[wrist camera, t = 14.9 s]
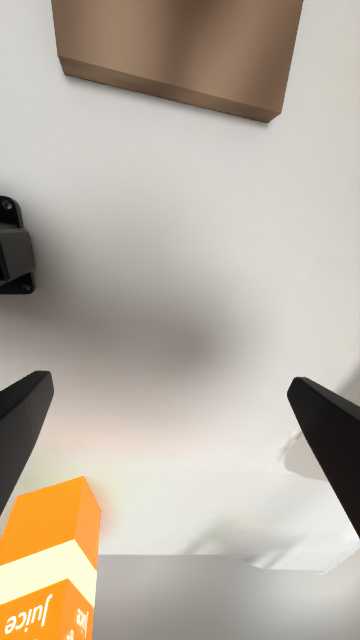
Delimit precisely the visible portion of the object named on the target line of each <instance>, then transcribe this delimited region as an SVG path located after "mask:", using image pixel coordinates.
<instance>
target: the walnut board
mask: <svg viewBox="0 0 360 640" xmlns="http://www.w3.org/2000/svg"><path fill="white" fill-rule="evenodd" d="M51 2H52V11H53V19H54V28H55V37H56V45H57V54H58V57H59V60H60V63H61V66H62V68H63V71H64V74H66V75H70V76H75V77H79V78H83V79H87V80H91V81H95V82H100V83H104V84H108V85H112V86H116V87H120V88H125V89H129V90H133V91H137V92H141V93H145V94H150V95H154V96H158V97H162V98H166V99H170V100H175V101H179V102H183V103H187V104H191V105H195V106H200V107H204V108H208V109H212V110H216V111H220V112H225V113H229V114H233V115H237V116H241V117H245V118H250V119H254V120H258V121H262V122H266V123H268V122H270V121H271V120H272V119H274V118H275V117H276V116H278V115H279V114H281V111H282V106H283V101H284V96H285V91H286V86H287V81H288V76H289V71H290V65H291V60H292V55H293V50H294V45H295V40H296V35H297V30H298V25H299V20H300V15H301V10H302V4H303V0H51Z"/></svg>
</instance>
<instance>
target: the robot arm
mask: <svg viewBox="0 0 360 640" xmlns="http://www.w3.org/2000/svg"><path fill="white" fill-rule="evenodd" d="M7 201H9V202H10V203H11V205H12V207H11V209H8V208H6V206H5V203H6V202H7ZM34 269H35V263H34V258H33V253H32V248H31V243H30V238H29V234H28V232H27V231H26V230H25V229H23V225H22V220H21V215H20V211H19V206H18V204H17V202H16V201H15V200H14V199H12V198H10V197H6V196H0V294H31V293H32V292H34V291H35V289H36V286H35V282H34V277H33V272H32V271H33V270H34ZM24 285H28V286H29V287H30V290H27V289H26V288H25V287H24ZM53 395H54V387H53V381H52V375H51V373H50V372H49V371H34V372H32V373H31V374H29V375H27V376H26V377H24V378H22V379H21V380H19V381H17V382H15V383H14V384H12V385H10V386H9V387H7V388H5V389H4V390H2V391H0V516H1V514H2V512H3V510H4V508H5V506H6V504H7V502H8V500H9V498H10V496H11V494H12V491H13V489H14V487H15V485H16V483H17V481H18V479H19V477H20V475H21V473H22V471H23V469H24V467H25V465H26V463H27V461H28V459H29V457H30V455H31V453H32V450H33V448H34V446H35V444H36V441H37V439H38V436H39V434H40V431H41V428H42V425H43V423H44V420H45V417H46V414H47V412H48V409H49V406H50V404H51V401H52V398H53ZM287 398H288V400H289V402H290V405H291V407H292V409H293V412H294V414H295V416H296V418H297V421H298V423H299V425H300V428H301V430H302V432H303V434H304V436H305V438H306V440H307V442H308V444H309V446H310V448H311V449H312V451H313V453H314V455H315V457H316V459H317V461H318V462H319V464H320V466H321V468H322V470H323V472H324V473H325V475H326V477H327V479H328V481H329V483H330V485H331V486H332V488H333V490H334V492H335V494H336V496H337V497H338V499H339V501H340V503H341V505H342V507H343V509H344V510H345V512H346V514H347V516H348V518H349V520H350V521H351V523H352V525H353V527H354V529H355V531H356V533H357V534H358V536H359V538H360V407H359V406H357V405H356V404H354V403H352V402H350V401H348V400H347V399H345V398H343V397H341V396H339V395H337V394H336V393H334V392H332V391H330V390H328V389H327V388H325V387H323V386H321V385H319V384H317V383H316V382H314V381H312V380H310V379H308V378H306V377H295V378H294V379H293V381H292V383H291V385H290V387H289V389H288V391H287Z"/></svg>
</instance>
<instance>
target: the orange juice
mask: <svg viewBox="0 0 360 640" xmlns="http://www.w3.org/2000/svg"><path fill="white" fill-rule="evenodd" d="M100 515H101V510H100V508H99V506H98V504H97V502H96V500H95V498H94V496H93V494H92V492H91V490H90V488H89V486H88V484H87V482H86V480H85V478H84V476H82V477H79V478H76V479H73V480H69V481H66V482H63V483H60V484H56V485H53V486H50V487H47V488H44V489H40V490H37V491H34V492H31V493H28V494H24V495H21V496H18V497H17V499H16V502H15V504H14V507H13V509H12V512H11V515H10V517H9V520H8V522H7V525H6V527H5V530H4V533H3V535H2V538H1V540H0V640H91V637H92V624H93V610H94V602H95V588H96V574H97V572H96V570H97V556H98V542H99V529H100Z"/></svg>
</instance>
